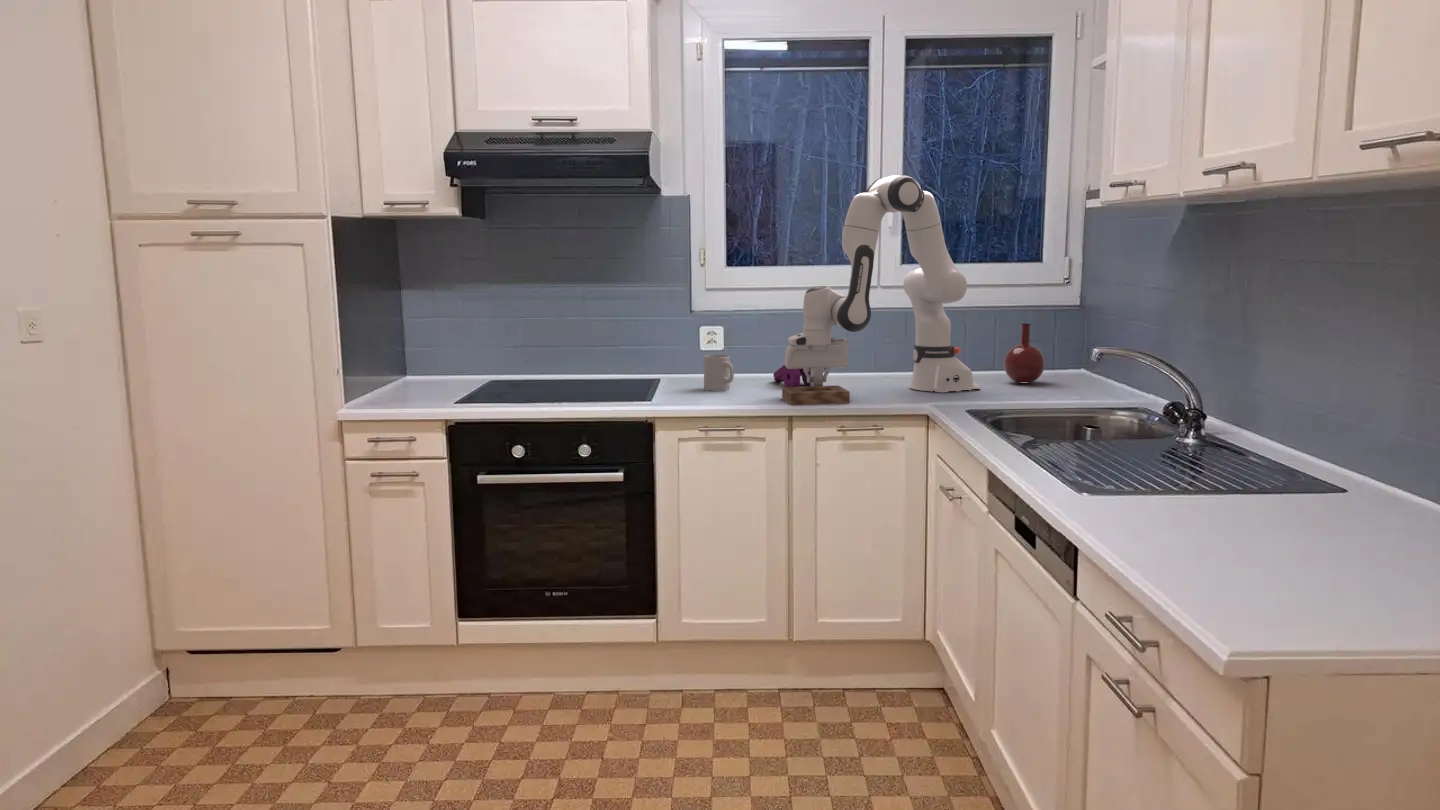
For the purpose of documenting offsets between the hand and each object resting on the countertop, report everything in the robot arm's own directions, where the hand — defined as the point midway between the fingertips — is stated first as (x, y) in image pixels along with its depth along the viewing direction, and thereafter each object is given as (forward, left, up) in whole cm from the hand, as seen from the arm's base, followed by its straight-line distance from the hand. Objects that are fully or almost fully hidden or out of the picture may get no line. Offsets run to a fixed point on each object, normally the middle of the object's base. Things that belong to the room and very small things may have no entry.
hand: (816, 382), depth 310 cm
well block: (+3, +10, -4) cm, 11 cm away
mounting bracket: (+2, -23, -5) cm, 24 cm away
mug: (+28, -17, -4) cm, 33 cm away
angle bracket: (+3, 0, -4) cm, 5 cm away
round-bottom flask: (-74, -9, -4) cm, 75 cm away
